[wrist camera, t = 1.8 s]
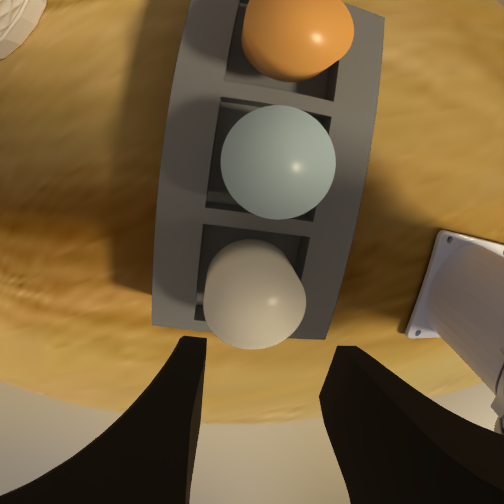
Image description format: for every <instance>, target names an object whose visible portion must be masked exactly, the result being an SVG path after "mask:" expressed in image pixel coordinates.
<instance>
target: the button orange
mask: <svg viewBox="0 0 504 504" xmlns="http://www.w3.org/2000/svg"><path fill="white" fill-rule="evenodd" d="M353 37H354V25H353V20H352V17H351V15H350V12H349V10H348V9H347V7H346V6H345V4H344V3H343V2H342V1H341V0H249V2H248V5H247V8H246V13H245V18H244V24H243V29H242V36H241V43H242V48H243V51H244V54H245V56H246V58H247V59H248V61H249V62H250V63H251V65H252V66H253V67H254V68H255V69H257V70H258V71H259V72H260V73H262V74H264V75H265V76H267V77H269V78H272V79H274V80H278V81H282V82H301V81H306V80H308V79H311V78H313V77H315V76H317V75H318V74H319V73H321V72H322V71H324V70H325V69H326V68H328V67H329V66H331V65H332V64H333V63H335V62H336V61H338V60H339V59H341V58H342V57H343V56H344V55H345V54H346V53H347V51H348V50H349V48H350V46H351V44H352V41H353Z"/></svg>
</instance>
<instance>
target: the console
mask: <svg viewBox="0 0 504 504" xmlns="http://www.w3.org/2000/svg"><path fill="white" fill-rule="evenodd" d="M248 2H249V0H191V2H190V6H189V10H188V14H187V18H186V22H185V26H184V30H183V35H182V39H181V44H180V48H179V53H178V58H177V63H176V68H175V73H174V78H173V84H172V90H171V95H170V101H169V107H168V114H167V120H166V127H165V134H164V142H163V149H162V158H161V166H160V175H159V185H158V196H157V207H156V220H155V235H154V254H153V280H152V325H155V326H163V327H170V328H178V329H187V330H196V331H205V332H212V331H211V329H210V328H209V326H208V324H207V322H206V320H205V316H204V310H203V302H204V293H205V284H206V276H207V271H208V268H209V265H210V263H211V261H212V259H213V258H214V256H215V255H216V254H217V253H218V252H219V251H220V250H221V249H222V248H224V247H225V246H227V245H229V244H231V243H233V242H236V241H239V240H243V239H258V240H263V241H266V242H269V243H271V244H273V245H275V246H276V247H278V248H279V249H280V250H281V251H282V252H283V253H284V254H285V255H286V257H287V259H288V260H289V262H290V264H291V265H292V267H293V269H294V271H295V273H296V274H297V276H298V278H299V280H300V282H301V283H302V286H303V288H304V291H305V295H306V309H305V313H304V316H303V319H302V321H301V323H300V324H299V326H298V327H297V329H296V330H295V331H294V332H293V333H292V334H291V335H290V336H289V337H288V338H297V339H322V340H325V339H326V336H327V333H328V329H329V326H330V323H331V319H332V316H333V312H334V309H335V305H336V302H337V298H338V295H339V291H340V288H341V284H342V280H343V276H344V272H345V269H346V265H347V261H348V257H349V253H350V248H351V244H352V240H353V236H354V231H355V227H356V222H357V218H358V213H359V209H360V204H361V199H362V194H363V189H364V184H365V178H366V173H367V167H368V162H369V156H370V150H371V144H372V137H373V131H374V124H375V117H376V109H377V101H378V93H379V84H380V74H381V64H382V52H383V38H384V21H385V18H384V17H382V16H379V15H377V14H374V13H371V12H369V11H366V10H363V9H360V8H358V7H355V6H352V5H349V4H346V3H344V4H345V6H346V7H347V9H348V10H349V12H350V15H351V17H352V20H353V25H354V37H353V41H352V44H351V46H350V48H349V50H348V51H347V53H346V54H345V55H344V56H343V57H342V58H341V59H339V60H338V61H336V62H335V63H333V64H332V65H331V66H329V67H328V68H326V69H325V70H324V71H322V72H321V73H319V74H318V75H317V76H315V77H313V78H311V79H308V80H306V81H301V82H282V81H278V80H274V79H272V78H269V77H267V76H265V75H264V74H262V73H260V72H259V71H258V70H257V69H255V68H254V67H253V66H252V65H251V63H250V62H249V61H248V59H247V58H246V56H245V54H244V51H243V48H242V43H241V36H242V29H243V24H244V18H245V13H246V8H247V5H248ZM272 105H284V106H290V107H294V108H297V109H300V110H302V111H304V112H306V113H308V114H309V115H311V116H312V117H314V118H315V119H316V120H317V121H318V122H319V123H320V124H321V125H322V126H323V127H324V129H325V130H326V132H327V133H328V135H329V137H330V139H331V141H332V144H333V147H334V151H335V158H336V167H335V174H334V178H333V181H332V184H331V186H330V188H329V190H328V192H327V194H326V195H325V196H324V198H323V199H322V200H321V201H320V202H319V203H318V204H317V205H316V206H315V207H314V208H312V209H311V210H309V211H308V212H306V213H304V214H302V215H300V216H297V217H294V218H289V219H281V220H276V219H267V218H263V217H260V216H257V215H255V214H253V213H251V212H249V211H247V210H246V209H244V208H243V207H242V206H241V205H240V204H238V203H237V202H236V200H235V199H234V198H233V197H232V196H231V194H230V193H229V191H228V189H227V187H226V185H225V183H224V180H223V177H222V172H221V152H222V148H223V144H224V142H225V139H226V137H227V135H228V133H229V132H230V130H231V129H232V127H233V126H234V125H235V124H236V123H237V122H238V121H239V120H240V119H241V118H242V117H244V116H245V115H246V114H248V113H250V112H251V111H254V110H256V109H258V108H262V107H265V106H272Z"/></svg>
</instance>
